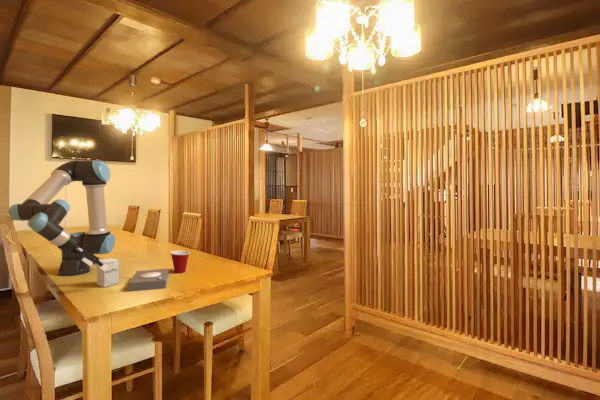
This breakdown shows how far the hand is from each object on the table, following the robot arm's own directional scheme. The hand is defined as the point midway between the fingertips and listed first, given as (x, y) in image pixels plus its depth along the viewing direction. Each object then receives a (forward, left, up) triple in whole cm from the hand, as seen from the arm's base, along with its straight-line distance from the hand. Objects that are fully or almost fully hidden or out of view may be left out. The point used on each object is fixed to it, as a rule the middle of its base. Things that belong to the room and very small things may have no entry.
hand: (100, 267), depth 159 cm
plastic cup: (-18, +37, -10) cm, 42 cm away
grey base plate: (+1, +23, -10) cm, 25 cm away
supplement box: (-3, +3, -10) cm, 11 cm away
